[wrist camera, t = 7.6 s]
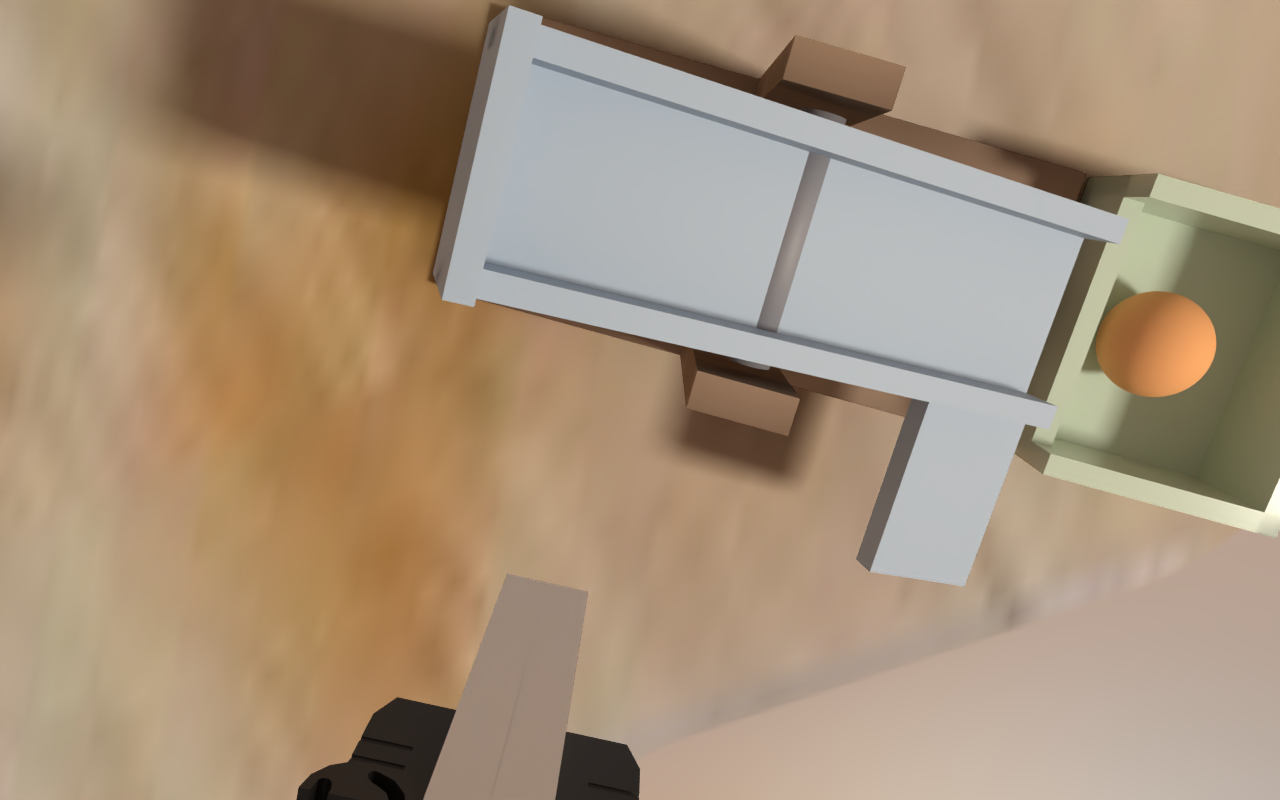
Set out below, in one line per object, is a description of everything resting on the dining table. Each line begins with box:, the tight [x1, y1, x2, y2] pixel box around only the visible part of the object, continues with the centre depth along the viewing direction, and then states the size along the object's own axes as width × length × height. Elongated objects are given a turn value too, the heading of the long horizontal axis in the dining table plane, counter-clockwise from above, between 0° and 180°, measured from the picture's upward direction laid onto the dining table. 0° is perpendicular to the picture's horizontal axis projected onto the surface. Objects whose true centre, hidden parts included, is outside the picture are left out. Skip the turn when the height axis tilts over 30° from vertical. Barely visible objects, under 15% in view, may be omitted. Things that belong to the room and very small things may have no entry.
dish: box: [1014, 174, 1280, 538], centre depth 35 cm, size 11×9×5 cm
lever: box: [433, 5, 1129, 586], centre depth 28 cm, size 14×20×4 cm
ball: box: [1095, 291, 1216, 397], centre depth 35 cm, size 4×4×4 cm
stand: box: [478, 18, 1086, 436], centre depth 32 cm, size 11×23×11 cm, turn 75°
